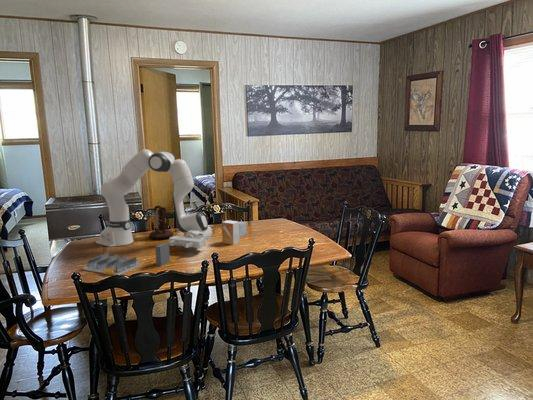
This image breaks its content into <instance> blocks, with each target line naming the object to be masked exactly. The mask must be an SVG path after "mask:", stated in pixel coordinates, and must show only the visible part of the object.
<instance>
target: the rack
mask: <svg viewBox="0 0 533 400" xmlns="http://www.w3.org/2000/svg"><path fill="white" fill-rule="evenodd" d="M118 256H119V255H118V253H115V254H113V255H110V254H109V252H106V253H104V254H103V253H102V254H100V255H98V256H96V257H92V258H90V259H87V260H86V264H87V265H85V266H84V267H83V266H82V270H83V271H86V272H94V273H97V274H98V273H99V274H104V275H107V276H112V275H113V276H115V275H119V276H121V275H123V274H125V273H127V272H130V271H131V270H134V269H136V268H138V267H141V266H142V263H141V262H139V261H137V257H136V256H134V257H131V258H128V256H127V255H122V256H121V257H118Z"/></svg>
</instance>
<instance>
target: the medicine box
mask: <svg viewBox="0 0 533 400" xmlns="http://www.w3.org/2000/svg"><path fill="white" fill-rule="evenodd" d="M238 222H239V238H241V237H244V236H247V222H246V221H243V220H242V221H241V220H240V221H238Z"/></svg>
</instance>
